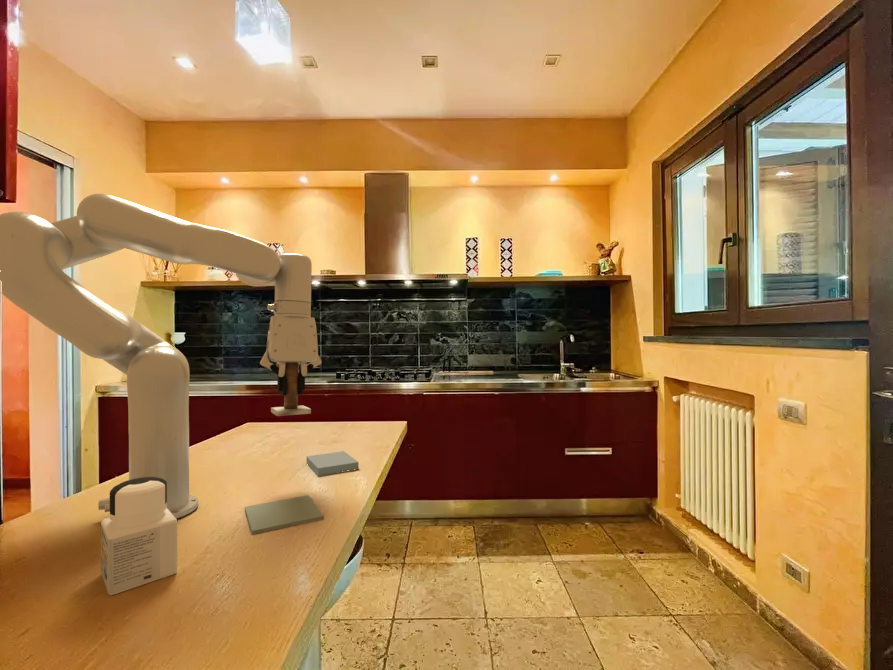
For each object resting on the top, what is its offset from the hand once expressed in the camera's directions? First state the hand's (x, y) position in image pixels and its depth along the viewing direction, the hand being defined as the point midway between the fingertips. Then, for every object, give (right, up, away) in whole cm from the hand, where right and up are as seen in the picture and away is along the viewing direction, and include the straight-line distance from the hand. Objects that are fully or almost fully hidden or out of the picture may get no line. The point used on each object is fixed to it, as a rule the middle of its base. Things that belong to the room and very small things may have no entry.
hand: (291, 393), depth 94 cm
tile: (0, -20, +13) cm, 24 cm away
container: (-9, -21, -34) cm, 41 cm away
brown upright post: (0, -4, 0) cm, 4 cm away
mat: (+4, -21, -14) cm, 25 cm away
